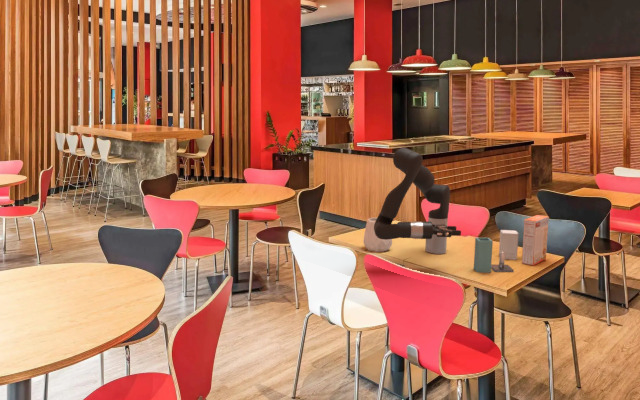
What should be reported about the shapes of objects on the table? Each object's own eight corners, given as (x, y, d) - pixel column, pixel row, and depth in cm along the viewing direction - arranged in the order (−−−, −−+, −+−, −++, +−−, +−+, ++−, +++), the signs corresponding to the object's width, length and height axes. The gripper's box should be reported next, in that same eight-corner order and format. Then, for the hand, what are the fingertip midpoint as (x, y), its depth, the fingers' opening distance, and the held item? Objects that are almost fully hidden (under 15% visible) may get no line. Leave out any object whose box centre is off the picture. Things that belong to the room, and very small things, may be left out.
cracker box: (533, 257, 253) (537, 214, 249) (546, 260, 248) (549, 216, 245) (520, 263, 243) (523, 218, 239) (533, 266, 239) (537, 220, 235)
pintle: (494, 272, 230) (496, 254, 228) (489, 266, 237) (490, 249, 236) (513, 272, 229) (514, 254, 228) (507, 266, 237) (508, 249, 236)
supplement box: (517, 260, 248) (519, 233, 246) (500, 259, 249) (502, 232, 247) (514, 255, 255) (516, 230, 253) (498, 254, 257) (500, 229, 254)
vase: (368, 253, 257) (368, 222, 255) (360, 246, 271) (360, 217, 268) (395, 252, 260) (396, 221, 257) (386, 245, 274) (387, 216, 271)
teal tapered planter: (477, 272, 229) (479, 240, 226) (473, 268, 234) (475, 237, 232) (490, 272, 229) (492, 241, 226) (486, 268, 234) (488, 237, 232)
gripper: (423, 225, 221) (463, 225, 221) (418, 218, 235) (455, 219, 235) (423, 242, 222) (461, 243, 222) (417, 235, 236) (454, 235, 236)
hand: (458, 230), depth 229 cm, fingers open, 8 cm apart
